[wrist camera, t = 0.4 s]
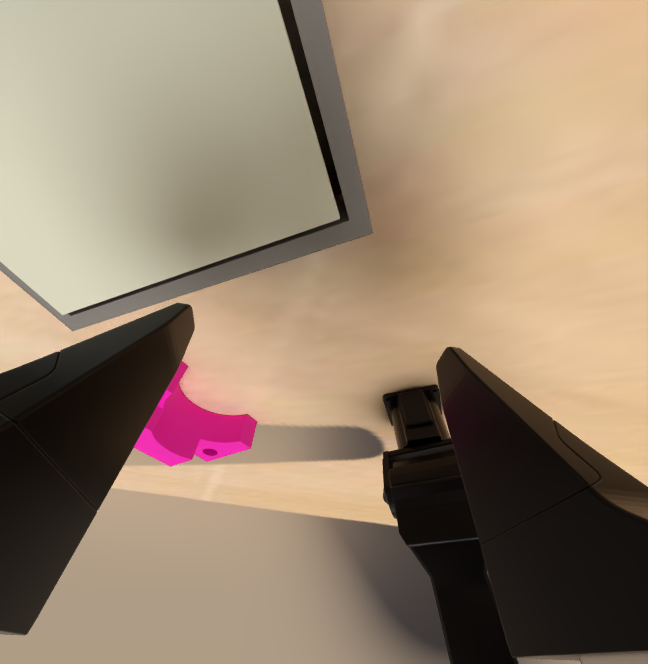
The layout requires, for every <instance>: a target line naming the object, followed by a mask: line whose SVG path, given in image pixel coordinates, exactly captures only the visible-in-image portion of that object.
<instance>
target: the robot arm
mask: <svg viewBox="0 0 648 664" xmlns="http://www.w3.org/2000/svg"><path fill="white" fill-rule="evenodd" d="M194 327H195V324H194V317H193V310H192V307H191V306H190V305H188V304H182V303H176V304H173V305H171V306H168V307H166V308H164V309H161V310H159V311H156V312H154V313H151V314H149V315H146V316H144V317H141V318H139V319H136V320H134V321H131V322H129V323H127V324H124V325H122V326H119V327H117V328H114V329H112V330H109V331H107V332H104V333H102V334H99V335H97V336H94V337H92V338H90V339H87V340H85V341H82V342H80V343H77V344H75V345H72V346H70V347H67V348H65V349H62V350H61V351H60V352H55V353H52V354H50V355H48V356H45V357H43V358H40V359H38V360H35V361H32V362H30V363H27V364H25V365H22V366H20V367H17V368H14V369H12V370H9V371H6V372H3V373H1V374H0V634H7V635H26V634H27V633H28V632H29V630H30V629H31V627H32V626H33V624H34V622H35V621H36V619H37V617H38V615H39V614H40V612H41V610H42V608H43V606H44V605H45V603H46V601H47V599H48V598H49V596H50V594H51V592H52V591H53V589H54V587H55V585H56V584H57V582H58V580H59V578H60V577H61V575H62V573H63V571H64V569H65V568H66V566H67V564H68V563H69V561H70V559H71V557H72V555H73V554H74V552H75V550H76V548H77V547H78V545H79V543H80V541H81V540H82V538H83V536H84V534H85V533H86V531H87V529H88V527H89V526H90V523H91V522H92V520H93V518H94V517H95V515H96V513H97V510H98V509H99V508H100V506H101V504H102V502H103V500H104V498H105V497H106V495H107V493H108V491H109V490H110V488H111V486H112V485H113V483H114V481H115V479H116V478H117V476H118V474H119V472H120V471H121V469H122V467H123V465H124V463H125V462H126V460H127V458H128V456H129V455H130V453H131V451H132V449H133V448H134V446H135V444H136V442H137V441H138V439H139V437H140V435H141V434H142V432H143V430H144V428H145V427H146V425H147V423H148V421H149V419H150V418H151V416H152V414H153V412H154V411H155V409H156V407H157V405H158V404H159V402H160V400H161V398H162V397H163V395H164V393H165V391H166V390H167V388H168V386H169V384H170V382H171V381H172V379H173V377H174V375H175V374H176V372H177V370H178V368H179V366H180V363H181V361H182V359H183V356H184V354H185V351H186V349H187V346H188V344H189V342H190V339H191V337H192V334H193V332H194ZM436 370H437V376H438V383H439V388H438V386H437V385H432V386H427V387H422V388H417V389H412V390H407V391H401V392H396V393H391V394H386V395H384V396H383V401H384V404H385V407H386V410H387V413H388V416H389V419H390V422H391V425H392V426H394V431H395V435H396V440H397V445H398V450H394V451H389V452H388V451H385V452H383V479H384V490H383V498H384V501H385V502H386V503H387V504H388V505H389V507H390V510H391V512H392V515H393V516H394V518H395V519H397V521H398V528H399V533H400V535H401V537H402V538H403V540H404V541H405V543H406V545H407V546H408V547H410V549H411V550H412V551H413V553H414V554H415V556H416V557H417V559H418V560H419V562H420V563H421V565H422V566H423V567H424V569H425V570H426V572H427V573H428V575H429V576H430V578H431V581H432V585H433V590H434V594H435V598H436V603H437V607H438V611H439V616H440V620H441V624H442V629H443V633H444V637H445V642H446V646H447V650H448V655H449V659H450V663H451V664H520V661H519V659H518V658H534V659H557V660H577V661H578V660H579V661H581V663H582V664H648V487H647V486H646V485H644V484H643V483H642V482H640V481H639V480H637V479H636V478H634V477H633V476H631V475H630V474H629V473H627V472H626V471H624V470H623V469H621V468H620V467H619V466H617V465H616V464H614V463H613V462H611V461H610V460H608V459H607V458H606V457H604V456H603V455H601V454H600V453H599V452H597V451H596V450H594V449H593V448H591V447H590V446H589V445H587V444H586V443H584V442H583V441H582V440H580V439H579V438H578V437H576V436H575V435H574V434H572V433H571V432H570V431H568V430H567V429H566V428H564V427H563V426H562V425H560V424H559V423H558V422H556V421H555V420H553V419H552V418H551V417H550V416H548V415H547V414H546V413H545V412H543V411H542V410H541V409H539V408H538V407H537V406H535V405H534V404H533V403H531V402H530V401H529V400H527V399H526V398H525V397H523V396H522V395H521V394H520V393H518V392H517V391H516V390H514V389H513V388H512V387H510V386H509V385H508V384H506V383H505V382H504V381H502V380H501V379H500V378H498V377H497V376H496V375H495V374H493V373H492V372H491V371H489V370H488V369H487V368H485V367H484V366H483V365H481V364H480V363H479V362H477V361H476V360H475V359H473V358H472V357H471V356H470V355H468V354H467V353H466V352H464V351H463V350H462V349H460V348H456V347H447V348H446V349H445V351H444V352H443V354H442V356H441V357H440V359H439V360H438V362H437V365H436ZM439 389H440V393H439ZM440 395H441V401H442V406H443V410H444V414H445V418H446V421H447V425H448V429H449V432H450V436H451V438H450V436H449V433H448V431H447V428H446V425H445V423H444V420H443V417H442V411H441V402H440Z"/></svg>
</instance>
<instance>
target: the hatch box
mask: <svg viewBox="0 0 648 664" xmlns="http://www.w3.org/2000/svg"><path fill="white" fill-rule="evenodd" d="M290 1H291V5H292V9H293V12H294V16H295V20H296V23H297V27H298V31H299V35H300V38H301V42H302V46H303V49H304V53H305V57H306V61H307V64H308V68H309V72H310V76H311V79H312V83H313V87H314V90H315V94H316V98H317V102H318V105H319V109H320V113H321V117H322V120H323V124H324V128H325V131H326V135H327V139H328V143H329V146H330V150H331V154H332V157H333V161H334V165H335V169H336V172H337V176H338V180H339V184H340V187H341V191H342V194H340V195H337V196H334V198H335V201H336V205H337V208H338V211H339V215H340V219H338V220H335V221H333V222H330V223H327V224H324V225H321V226H318V227H315V228H312V229H309V230H307V231H304V232H301V233H298V234H295V235H292V236H289V237H286V238H284V239H281V240H278V241H275V242H272V243H269V244H266V245H263V246H260V247H258V248H255V249H252V250H249V251H246V252H243V253H240V254H237V255H234V256H232V257H229V258H226V259H223V260H220V261H217V262H214V263H211V264H209V265H206V266H203V267H200V268H197V269H194V270H191V271H188V272H185V273H183V274H180V275H177V276H174V277H171V278H168V279H165V280H162V281H160V282H157V283H154V284H151V285H148V286H145V287H142V288H139V289H136V290H134V291H131V292H128V293H125V294H122V295H119V296H116V297H113V298H110V299H108V300H105V301H102V302H99V303H96V304H93V305H90V306H87V307H85V308H82V309H79V310H76V311H73V312H70V313H67V314H64V315H62V314H60V313H59V312H58V311H57V310H56V309H55V308H53V307H52V306H51V305H50V304H49V303H48V302H47V301H45V300H44V299H43V298H42V297H41V296H40V295H38V294H37V293H36V292H35V291H34V290H33V289H31V288H30V287H29V286H28V285H27V284H26V283H24V282H23V281H22V280H21V279H20V278H19V277H18V276H16V275H15V274H14V273H13V272H12V271H11V270H9V269H8V268H7V267H6V266H5V265H4V264H2V263H1V262H0V270H1V271H2V272H3V273H4V274H5V275H7V276H8V277H9V278H10V279H11V280H12V281H14V282H15V283H16V284H17V285H18V286H20V287H21V288H22V289H23V290H24V291H26V292H27V293H28V294H29V295H30V296H31V297H33V298H34V299H35V300H36V301H37V302H39V303H40V304H41V305H42V306H43V307H44V308H46V309H47V310H48V311H49V312H50V313H52V314H53V315H54V316H55V317H56V318H58V319H59V320H60V321H61V322H62V323H63V324H65V325H66V326H67V327H68V328H69V329H71V330H72V331H75V330H78V329H81V328H84V327H87V326H90V325H93V324H96V323H99V322H102V321H105V320H108V319H111V318H114V317H117V316H121V315H124V314H127V313H130V312H133V311H136V310H139V309H142V308H145V307H148V306H151V305H154V304H157V303H160V302H164V301H167V300H170V299H173V298H176V297H179V296H182V295H185V294H188V293H191V292H194V291H197V290H200V289H203V288H206V287H210V286H213V285H216V284H219V283H222V282H225V281H228V280H231V279H234V278H237V277H240V276H243V275H246V274H249V273H253V272H256V271H259V270H262V269H265V268H268V267H271V266H274V265H277V264H280V263H283V262H286V261H289V260H292V259H295V258H299V257H302V256H305V255H308V254H311V253H314V252H317V251H320V250H323V249H326V248H329V247H332V246H335V245H338V244H341V243H345V242H348V241H351V240H354V239H357V238H360V237H363V236H366V235H369V234H372V233H373V231H372V226H371V222H370V217H369V213H368V208H367V204H366V199H365V195H364V190H363V185H362V181H361V176H360V172H359V167H358V163H357V158H356V154H355V149H354V145H353V140H352V136H351V131H350V127H349V122H348V118H347V113H346V109H345V104H344V100H343V95H342V91H341V86H340V82H339V77H338V73H337V68H336V64H335V59H334V55H333V50H332V46H331V41H330V37H329V32H328V28H327V23H326V19H325V14H324V10H323V5H322V1H321V0H290Z"/></svg>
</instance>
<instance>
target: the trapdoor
mask: <svg viewBox="0 0 648 664" xmlns="http://www.w3.org/2000/svg"><path fill="white" fill-rule="evenodd" d="M338 219H340V215H339V211H338V208H337V205H336V201H335V198H334V194H333V191H332V187H331V184H330V180H329V177H328V173H327V170H326V166H325V163H324V159H323V156H322V152H321V149H320V145H319V142H318V138H317V135H316V131H315V128H314V124H313V121H312V117H311V114H310V110H309V107H308V104H307V100H306V97H305V93H304V90H303V86H302V83H301V79H300V76H299V72H298V69H297V65H296V62H295V58H294V55H293V51H292V48H291V44H290V41H289V37H288V34H287V30H286V27H285V23H284V20H283V16H282V13H281V10H280V6H279V3H278V0H0V262H1V263H2V264H4V265H5V266H6V267H7V268H8V269H9V270H11V271H12V272H13V273H14V274H15V275H16V276H18V277H19V278H20V279H21V280H22V281H23V282H24V283H26V284H27V285H28V286H29V287H30V288H31V289H33V290H34V291H35V292H36V293H37V294H38V295H40V296H41V297H42V298H43V299H44V300H45V301H47V302H48V303H49V304H50V305H51V306H52V307H53V308H55V309H56V310H57V311H58V312H59V313H60V314H62V315H64V314H67V313H70V312H73V311H76V310H79V309H82V308H85V307H87V306H90V305H93V304H96V303H99V302H102V301H105V300H108V299H110V298H113V297H116V296H119V295H122V294H125V293H128V292H131V291H134V290H136V289H139V288H142V287H145V286H148V285H151V284H154V283H157V282H160V281H162V280H165V279H168V278H171V277H174V276H177V275H180V274H183V273H185V272H188V271H191V270H194V269H197V268H200V267H203V266H206V265H209V264H211V263H214V262H217V261H220V260H223V259H226V258H229V257H232V256H234V255H237V254H240V253H243V252H246V251H249V250H252V249H255V248H258V247H260V246H263V245H266V244H269V243H272V242H275V241H278V240H281V239H284V238H286V237H289V236H292V235H295V234H298V233H301V232H304V231H307V230H309V229H312V228H315V227H318V226H321V225H324V224H327V223H330V222H333V221H335V220H338Z"/></svg>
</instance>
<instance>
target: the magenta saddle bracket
mask: <svg viewBox="0 0 648 664" xmlns="http://www.w3.org/2000/svg"><path fill="white" fill-rule="evenodd" d="M187 367H188V366H187V365H185V364H184V363H183V362H182V361H181V363H180V366H179V368H178V370H177V372H176V374H175V375H174V377H173V379H172V381H171V382H170V384H169V386H168V388H167V390H166V391H165V393H164V395H163V397H162V398H161V400H160V402H159V404H158V405H157V407H156V409H155V411H154V412H153V414H152V416H151V418H150V419H149V421H148V423H147V425H146V427H145V428H144V430H143V432H142V434H141V435H140V437H139V439H138V441H137V442H136V444H135V446H134V448H136V449H138V450H140V451H142V452H143V453H145V454H147V455H149V456H151V457H153V458H155V459H157V460H159V461H161V462H163V463H165V464H167V465H169V466H173V465H177V464H180V463H183V462H186V461H189V460H192V458H193V456H194V454H195V455H196V456H198V457H200V458H202V459H203V460H205V461H211V460H214V459H217V458H221V457H224V456H227V455H231V454H234V453H237V452H241V451H244V450H248V449H250V448H251V445H252V441H253V437H254V432H255V428H256V424H257V422H256V421H255V420H254V419H253V418H251V417H250V416H249V415H248V414H247V415H241V416H226V415H220V414H215V413H212V412H209V411H206V410H204V409H202V408H200V407H198V406H196V405H195V404H193V403H192V402H191V401H189V400H188V399H187V398H186V397H185V395H184V394H183V393H182V391H181V389H180V386H179V381H180V380H181V378H182V376H183V374H184V373H185V371H186V369H187Z"/></svg>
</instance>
